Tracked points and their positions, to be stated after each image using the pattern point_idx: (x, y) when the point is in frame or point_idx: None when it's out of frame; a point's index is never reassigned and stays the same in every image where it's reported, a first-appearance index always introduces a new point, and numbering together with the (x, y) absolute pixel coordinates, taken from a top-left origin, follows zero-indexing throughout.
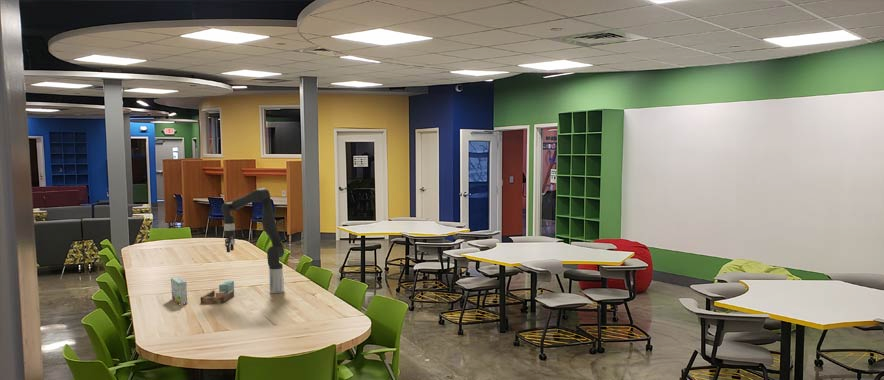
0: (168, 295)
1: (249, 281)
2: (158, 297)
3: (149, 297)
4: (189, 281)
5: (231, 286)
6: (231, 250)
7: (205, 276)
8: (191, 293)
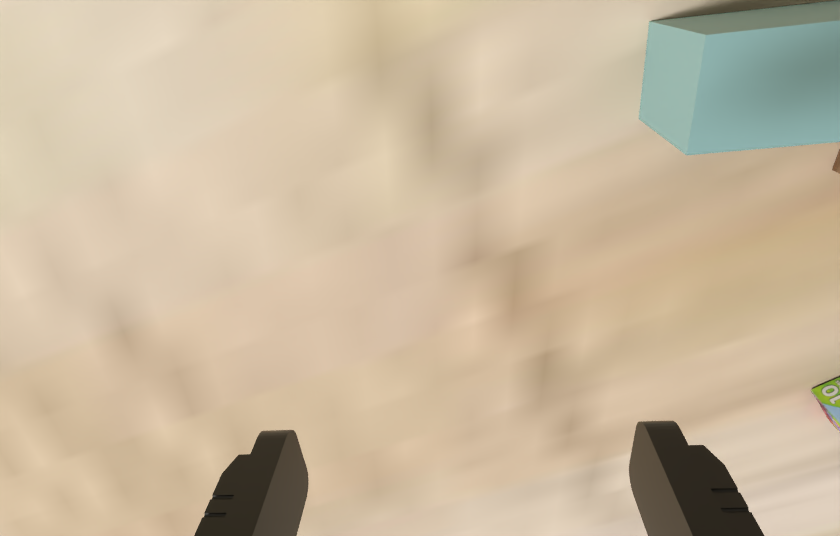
0: None
1: (127, 49)
2: None
3: None
4: None
5: (798, 15)
6: (304, 462)
7: (86, 468)
8: (660, 368)
